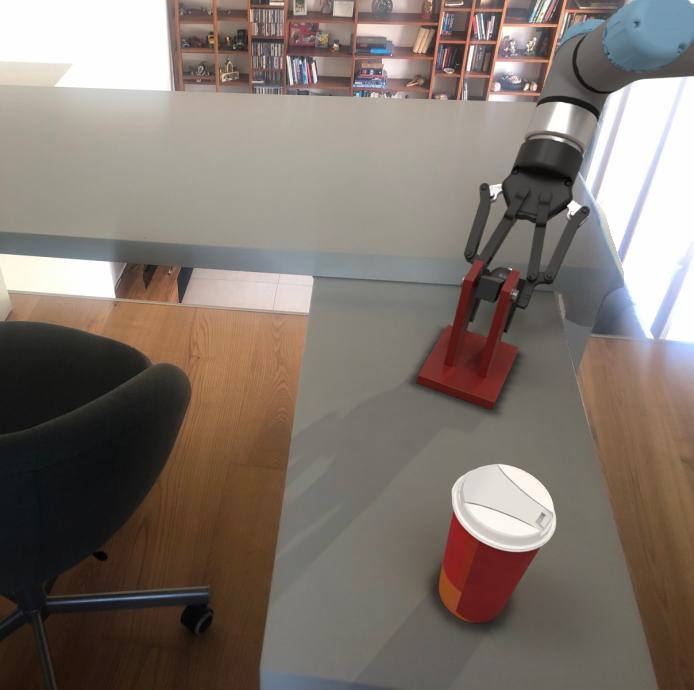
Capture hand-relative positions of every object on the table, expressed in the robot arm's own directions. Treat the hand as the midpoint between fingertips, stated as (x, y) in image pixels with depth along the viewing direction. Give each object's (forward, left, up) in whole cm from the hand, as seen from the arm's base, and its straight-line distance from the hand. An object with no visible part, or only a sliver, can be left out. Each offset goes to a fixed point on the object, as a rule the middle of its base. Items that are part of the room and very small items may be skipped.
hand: (486, 324), depth 86 cm
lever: (0, +2, +5) cm, 5 cm away
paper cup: (-15, +33, -3) cm, 36 cm away
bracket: (-1, +6, -3) cm, 6 cm away
